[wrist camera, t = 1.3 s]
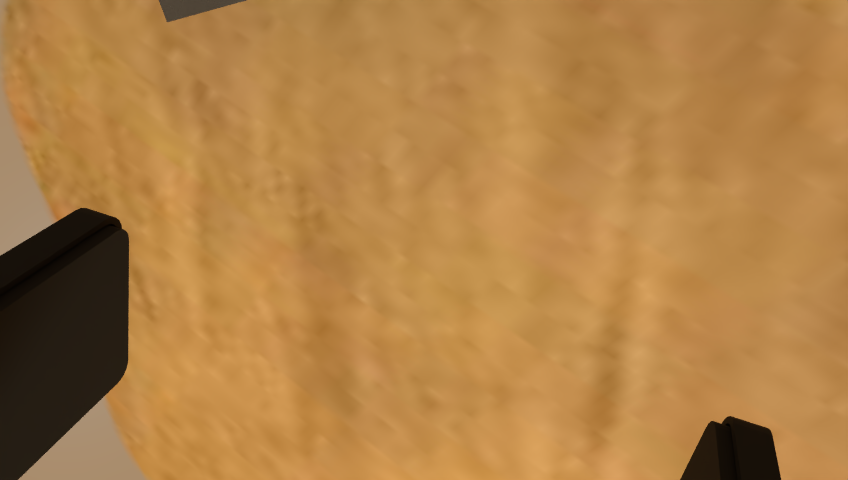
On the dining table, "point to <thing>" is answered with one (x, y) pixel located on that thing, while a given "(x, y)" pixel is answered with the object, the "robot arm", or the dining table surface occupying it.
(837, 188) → the dining table surface
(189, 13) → the block
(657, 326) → the dining table surface
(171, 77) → the dining table surface
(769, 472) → the robot arm
